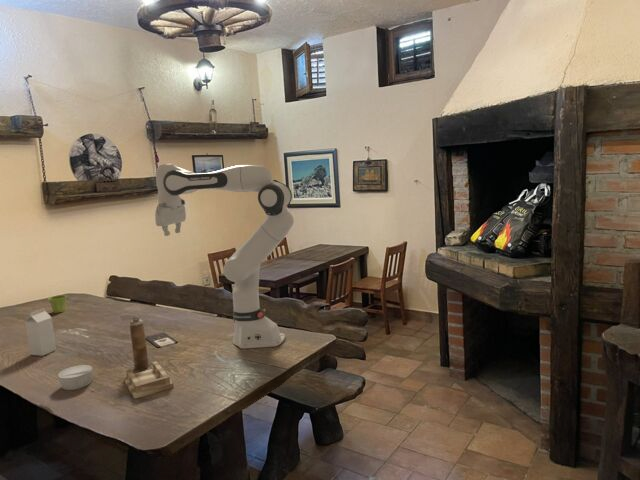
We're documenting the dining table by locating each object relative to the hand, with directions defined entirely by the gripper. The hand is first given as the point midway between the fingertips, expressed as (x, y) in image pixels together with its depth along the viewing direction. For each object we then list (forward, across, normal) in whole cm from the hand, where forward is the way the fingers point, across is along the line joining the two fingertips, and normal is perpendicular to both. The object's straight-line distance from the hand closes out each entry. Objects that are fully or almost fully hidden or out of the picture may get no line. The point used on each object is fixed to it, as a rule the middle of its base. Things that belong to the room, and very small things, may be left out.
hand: (172, 234), depth 202 cm
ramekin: (+48, -45, +19) cm, 69 cm away
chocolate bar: (+49, 0, +11) cm, 50 cm away
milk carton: (+48, -16, +58) cm, 77 cm away
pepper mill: (+48, -29, +3) cm, 56 cm away
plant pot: (+48, +45, +100) cm, 120 cm away
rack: (+48, -43, -8) cm, 65 cm away
